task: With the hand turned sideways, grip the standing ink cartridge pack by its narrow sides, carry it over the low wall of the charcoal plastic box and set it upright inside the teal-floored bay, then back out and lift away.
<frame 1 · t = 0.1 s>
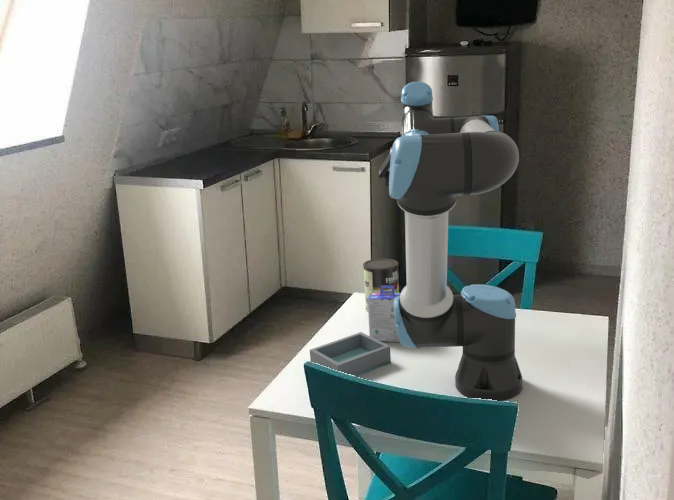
hand: (416, 191, 206), 36 cm above the table, tool tilted 35°, fingers open, 13 cm apart
coffee can: (382, 308, 220), on the table
ink cartridge box: (389, 338, 199), on the table
walled box: (350, 364, 185), on the table
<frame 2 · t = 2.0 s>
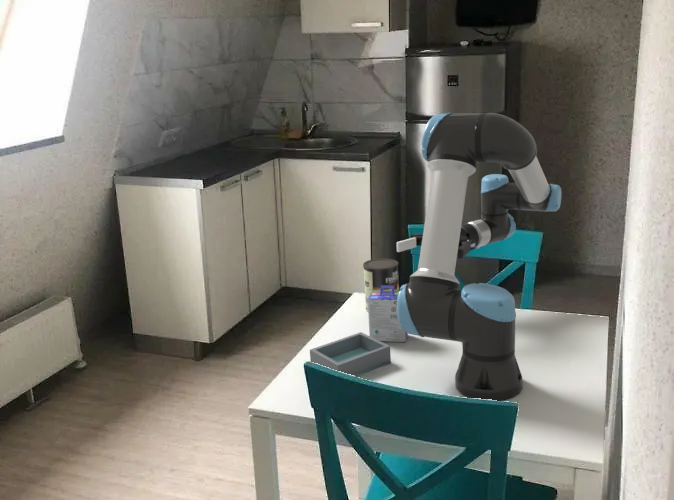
hand: (413, 252, 198), 22 cm above the table, tool horizontal, fingers open, 13 cm apart
nothing on the table moved.
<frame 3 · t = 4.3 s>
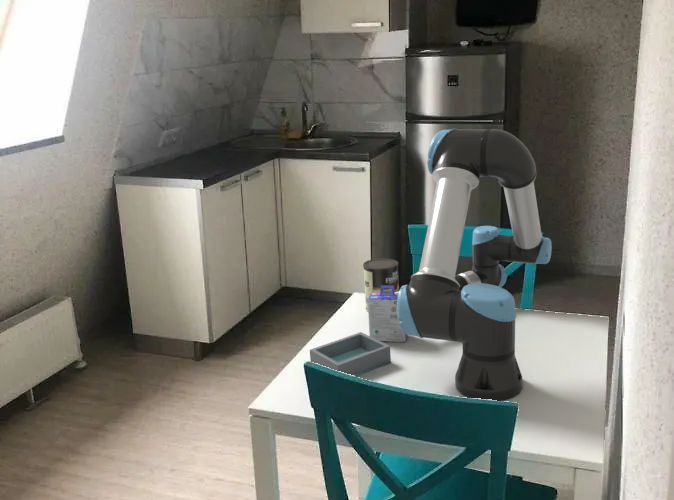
hand: (404, 306, 200), 7 cm above the table, tool horizontal, fingers open, 13 cm apart
nothing on the table moved.
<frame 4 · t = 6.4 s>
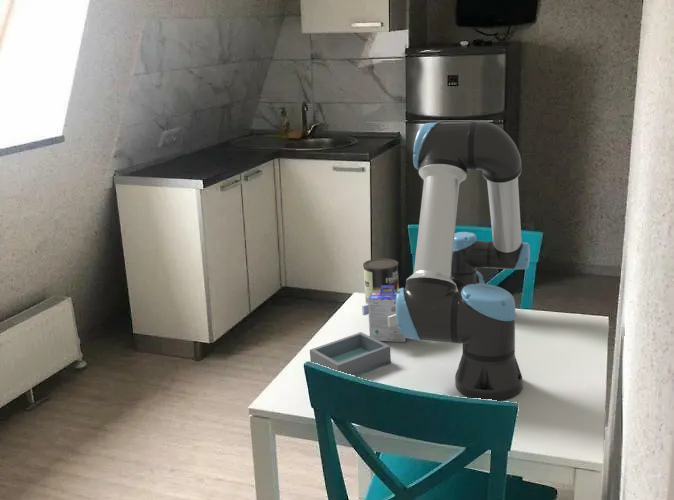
hand: (375, 316, 194), 8 cm above the table, tool horizontal, fingers closed on ink cartridge box, 10 cm apart
ink cartridge box: (389, 338, 199), on the table, touching gripper
everything else where it was.
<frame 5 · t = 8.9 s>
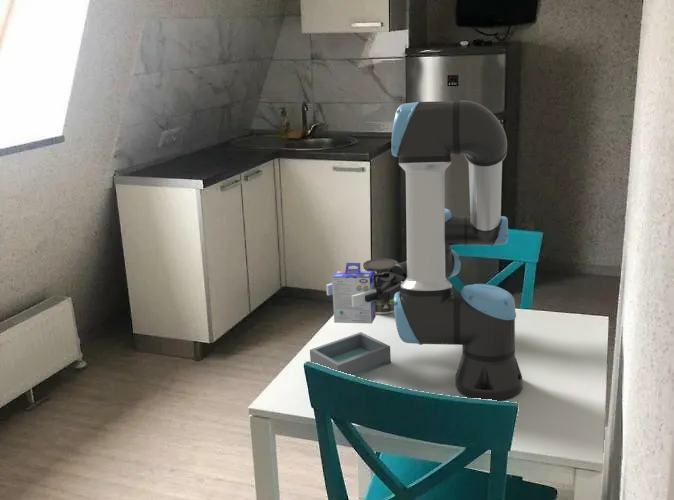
hand: (339, 295, 181), 18 cm above the table, tool horizontal, fingers closed on ink cartridge box, 10 cm apart
ink cartridge box: (355, 320, 185), point 10 cm above the table, touching gripper
everything else where it was.
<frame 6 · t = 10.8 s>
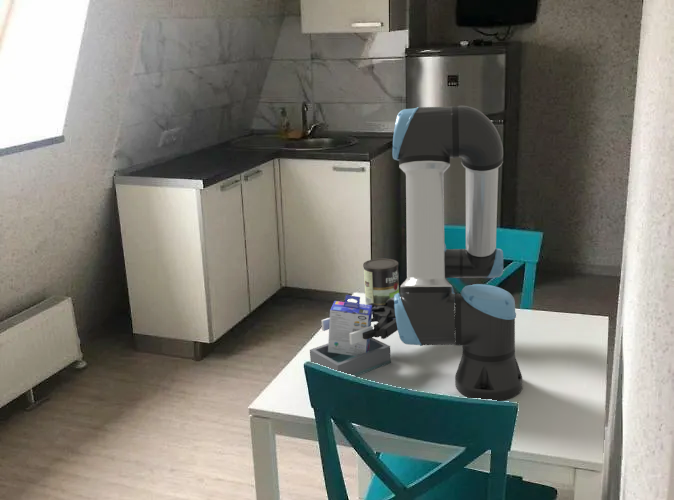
hand: (336, 332, 179), 10 cm above the table, tool horizontal, fingers closed on ink cartridge box, 11 cm apart
ink cartridge box: (348, 350, 184), point 4 cm above the table, touching gripper, walled box
everything else where it was.
when the fingers open (10 cm above the table, at t = 11.4 s): ink cartridge box stays where it is, resting on walled box.
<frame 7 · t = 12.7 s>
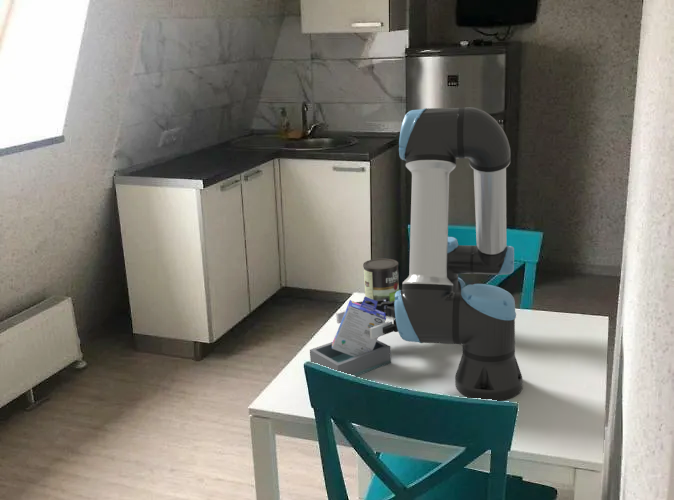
hand: (353, 325, 183), 10 cm above the table, tool horizontal, fingers open, 13 cm apart
ink cartridge box: (349, 352, 185), point 3 cm above the table, touching walled box
everything else where it was.
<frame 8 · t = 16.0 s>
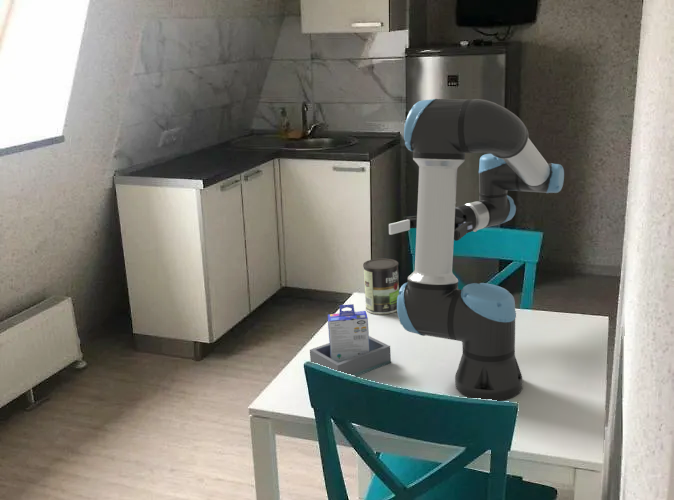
hand: (406, 234, 185), 30 cm above the table, tool horizontal, fingers open, 13 cm apart
ink cartridge box: (350, 361, 185), point 1 cm above the table, touching walled box
everything else where it was.
at the end: ink cartridge box inside the target area on the walled box (0.3 cm from its centre), point 0.6 cm above the walled box's base; ink cartridge box tilted 0°; the gripper is holding nothing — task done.
